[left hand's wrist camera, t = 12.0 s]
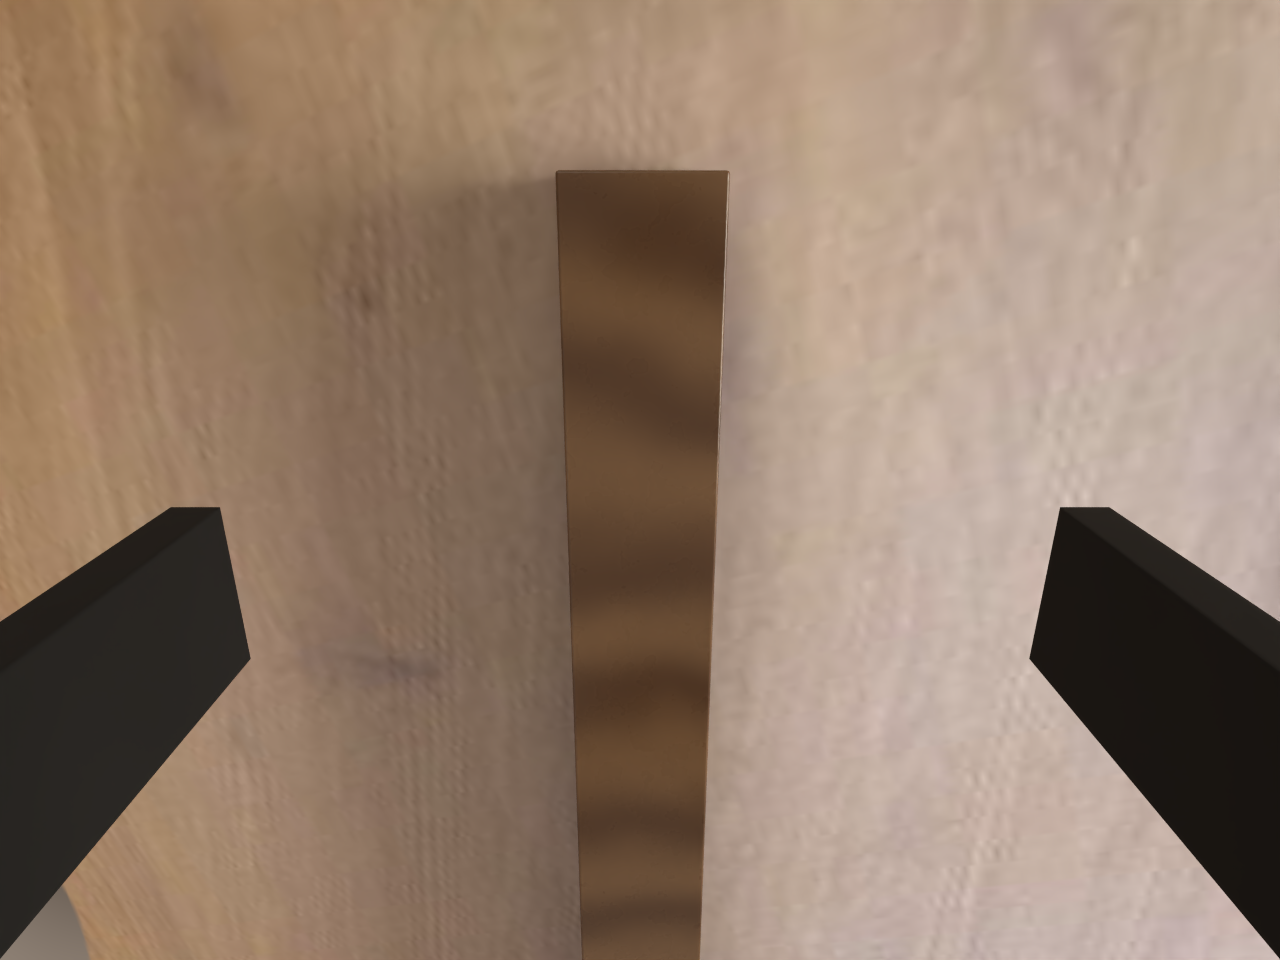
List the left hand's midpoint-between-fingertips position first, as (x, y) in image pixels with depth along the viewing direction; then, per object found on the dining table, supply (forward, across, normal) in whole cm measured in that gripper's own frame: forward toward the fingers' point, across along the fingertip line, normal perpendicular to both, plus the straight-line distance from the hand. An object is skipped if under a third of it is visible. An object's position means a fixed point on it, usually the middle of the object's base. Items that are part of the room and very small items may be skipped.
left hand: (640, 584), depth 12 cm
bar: (+24, 0, -21) cm, 32 cm away
